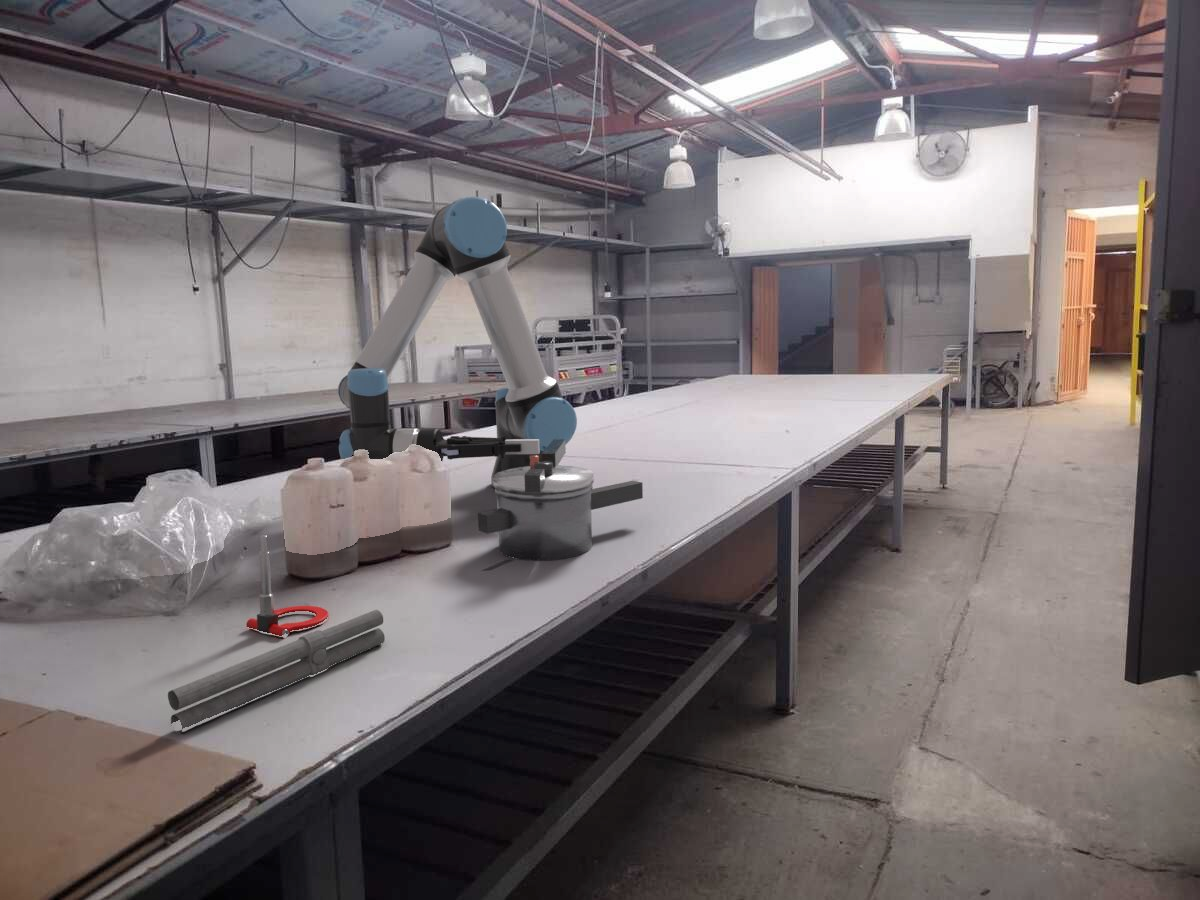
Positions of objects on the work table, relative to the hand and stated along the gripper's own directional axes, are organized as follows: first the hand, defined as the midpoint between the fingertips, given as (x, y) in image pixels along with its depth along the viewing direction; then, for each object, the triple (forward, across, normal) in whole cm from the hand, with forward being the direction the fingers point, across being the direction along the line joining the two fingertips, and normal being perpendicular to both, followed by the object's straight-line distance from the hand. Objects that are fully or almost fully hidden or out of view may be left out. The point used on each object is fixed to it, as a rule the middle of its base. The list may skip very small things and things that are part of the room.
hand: (538, 446), depth 157 cm
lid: (+4, +15, -3) cm, 16 cm away
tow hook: (-25, +56, -14) cm, 63 cm away
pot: (+7, +17, -14) cm, 23 cm away
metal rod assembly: (-17, +73, -14) cm, 76 cm away
